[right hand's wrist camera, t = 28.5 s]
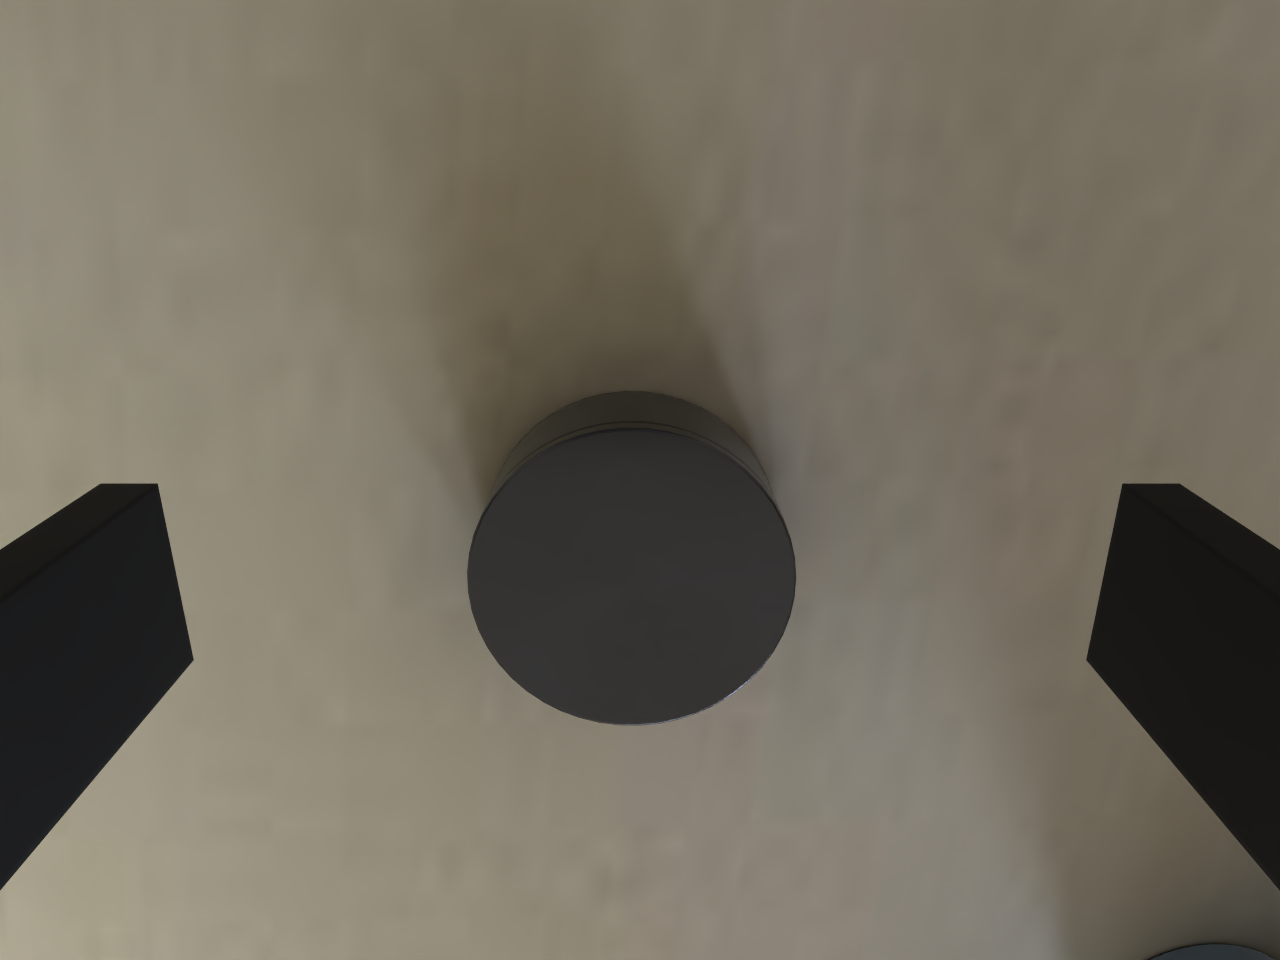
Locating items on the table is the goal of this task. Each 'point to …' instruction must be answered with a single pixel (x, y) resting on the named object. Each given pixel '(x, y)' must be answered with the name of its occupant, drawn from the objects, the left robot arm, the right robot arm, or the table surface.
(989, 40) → the table surface
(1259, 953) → the blue-grey bottle
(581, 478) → the lid
